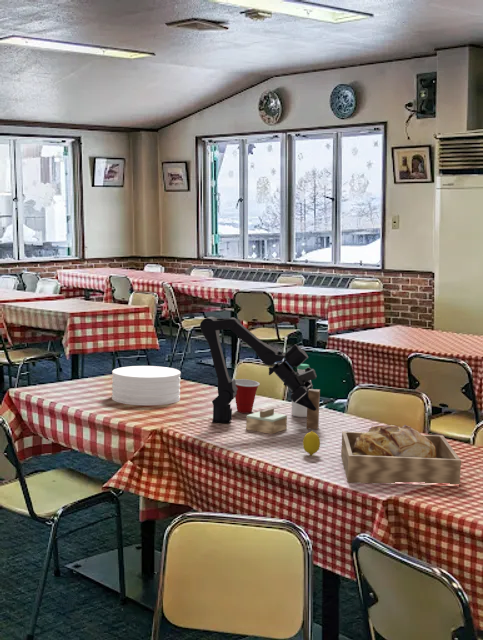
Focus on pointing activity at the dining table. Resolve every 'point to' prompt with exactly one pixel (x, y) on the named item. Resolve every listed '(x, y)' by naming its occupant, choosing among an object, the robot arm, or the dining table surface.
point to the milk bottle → (296, 408)
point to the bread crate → (401, 464)
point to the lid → (267, 415)
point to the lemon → (311, 443)
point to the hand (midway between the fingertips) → (316, 407)
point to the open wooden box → (266, 425)
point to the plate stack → (146, 385)
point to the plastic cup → (245, 394)
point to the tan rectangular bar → (312, 415)
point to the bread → (394, 443)
